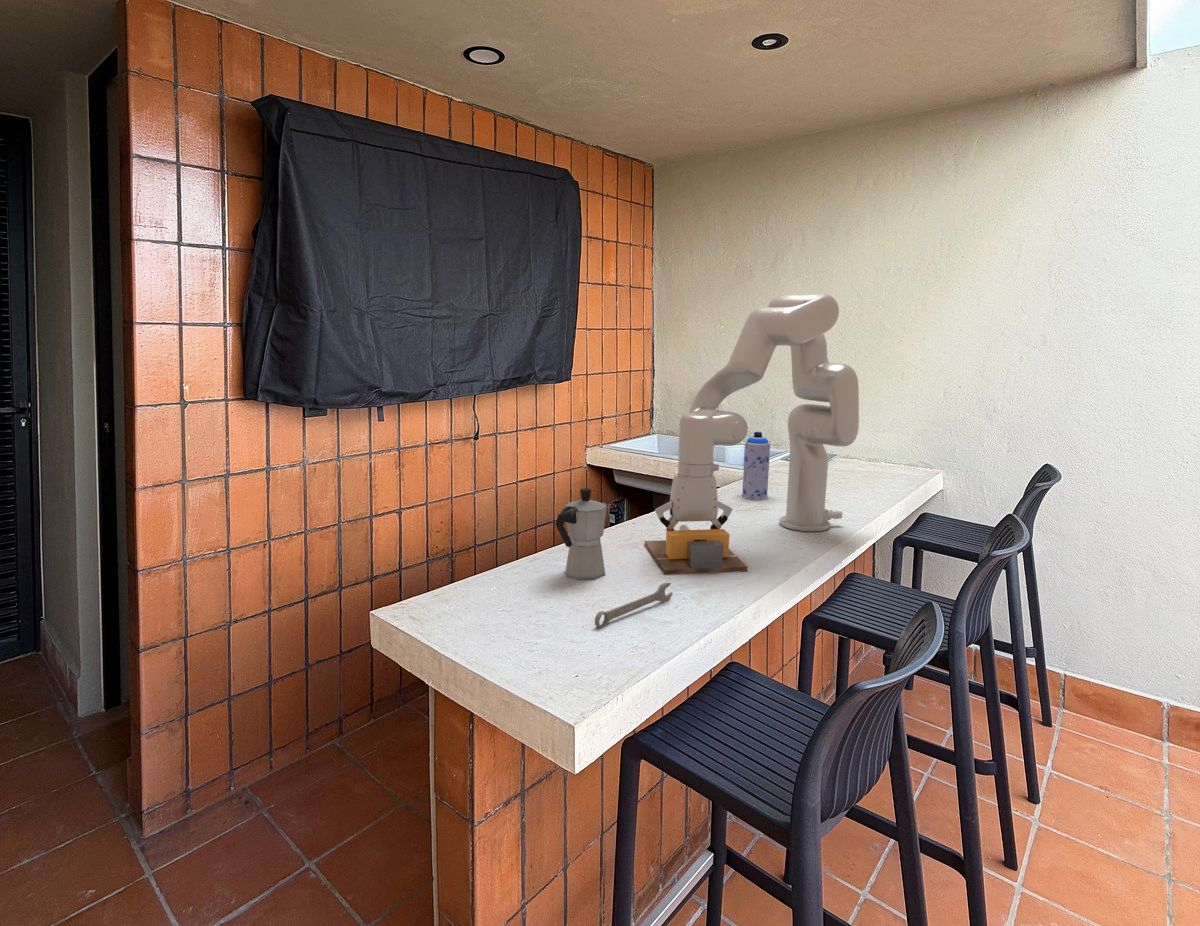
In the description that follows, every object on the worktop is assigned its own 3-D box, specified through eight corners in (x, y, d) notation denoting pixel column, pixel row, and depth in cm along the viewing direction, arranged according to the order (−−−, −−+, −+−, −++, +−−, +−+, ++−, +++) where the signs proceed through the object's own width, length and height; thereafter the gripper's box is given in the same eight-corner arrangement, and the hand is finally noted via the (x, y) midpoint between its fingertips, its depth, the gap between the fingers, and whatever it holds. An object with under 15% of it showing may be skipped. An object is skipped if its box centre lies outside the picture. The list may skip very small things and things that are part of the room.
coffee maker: (588, 560, 153) (589, 480, 149) (620, 569, 147) (622, 486, 144) (541, 579, 141) (540, 492, 138) (573, 589, 136) (574, 500, 132)
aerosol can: (754, 493, 217) (758, 429, 213) (773, 498, 211) (777, 432, 207) (736, 496, 213) (739, 431, 209) (754, 501, 207) (758, 434, 203)
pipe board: (718, 542, 167) (718, 538, 166) (747, 571, 147) (747, 566, 147) (644, 545, 164) (644, 540, 164) (664, 574, 145) (664, 569, 144)
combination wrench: (598, 613, 117) (676, 581, 131) (593, 610, 118) (670, 579, 132) (598, 633, 118) (675, 600, 132) (593, 631, 119) (670, 598, 132)
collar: (722, 551, 156) (723, 528, 155) (728, 557, 152) (729, 534, 151) (665, 553, 154) (666, 530, 153) (670, 559, 150) (670, 536, 149)
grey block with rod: (697, 540, 165) (698, 520, 164) (722, 567, 146) (723, 544, 145) (668, 541, 164) (669, 520, 163) (690, 568, 145) (690, 545, 144)
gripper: (728, 466, 158) (724, 538, 161) (653, 467, 155) (651, 541, 159) (738, 472, 150) (735, 548, 154) (660, 474, 148) (658, 551, 151)
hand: (692, 544), depth 156 cm, fingers open, 9 cm apart
